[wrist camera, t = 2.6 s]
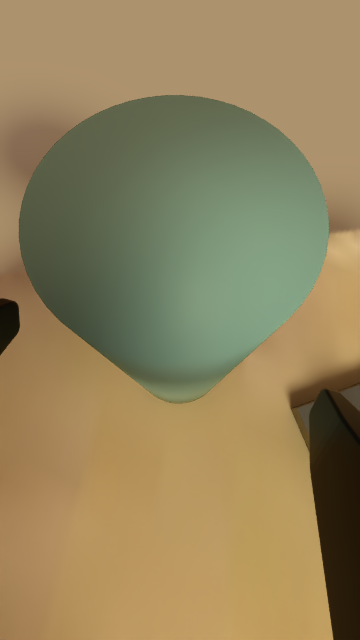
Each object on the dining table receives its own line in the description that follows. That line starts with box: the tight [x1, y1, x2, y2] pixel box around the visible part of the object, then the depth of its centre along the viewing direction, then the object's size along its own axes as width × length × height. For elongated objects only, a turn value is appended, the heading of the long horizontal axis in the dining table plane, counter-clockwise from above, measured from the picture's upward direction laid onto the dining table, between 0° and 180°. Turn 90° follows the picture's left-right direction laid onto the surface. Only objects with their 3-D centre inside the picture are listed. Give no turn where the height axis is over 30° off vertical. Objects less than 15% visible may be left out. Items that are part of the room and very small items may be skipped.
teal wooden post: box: [19, 95, 329, 403], centre depth 12 cm, size 5×5×14 cm
